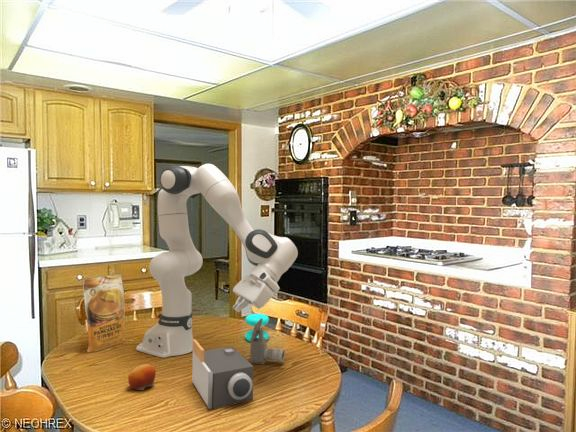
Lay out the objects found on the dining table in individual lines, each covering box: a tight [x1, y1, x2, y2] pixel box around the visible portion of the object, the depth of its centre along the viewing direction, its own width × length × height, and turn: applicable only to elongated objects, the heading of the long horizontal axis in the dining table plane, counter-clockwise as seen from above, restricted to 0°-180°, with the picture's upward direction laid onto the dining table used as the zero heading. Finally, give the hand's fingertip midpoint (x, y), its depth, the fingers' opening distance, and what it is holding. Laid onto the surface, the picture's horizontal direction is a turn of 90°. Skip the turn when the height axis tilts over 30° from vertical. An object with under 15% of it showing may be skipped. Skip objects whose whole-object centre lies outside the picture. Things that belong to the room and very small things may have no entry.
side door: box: [191, 338, 213, 410], centre depth 119 cm, size 19×1×14 cm, turn 27°
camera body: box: [204, 346, 254, 409], centre depth 121 cm, size 20×12×11 cm, turn 27°
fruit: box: [127, 363, 157, 391], centre depth 124 cm, size 8×8×8 cm
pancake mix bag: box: [81, 273, 126, 353], centre depth 158 cm, size 7×19×28 cm, turn 149°
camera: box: [249, 318, 286, 365], centre depth 145 cm, size 9×12×15 cm
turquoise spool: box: [244, 313, 270, 342], centre depth 170 cm, size 10×10×10 cm
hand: (235, 310), depth 131 cm, fingers closed
